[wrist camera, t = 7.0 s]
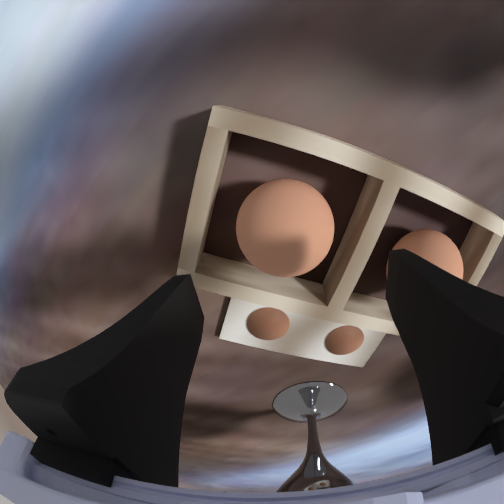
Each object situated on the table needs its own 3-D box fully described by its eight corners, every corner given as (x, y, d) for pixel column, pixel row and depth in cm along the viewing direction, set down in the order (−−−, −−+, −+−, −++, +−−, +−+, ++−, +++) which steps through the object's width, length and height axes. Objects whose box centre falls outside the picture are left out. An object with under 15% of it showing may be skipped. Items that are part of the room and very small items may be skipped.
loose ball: (323, 166, 17) (344, 191, 12) (326, 246, 19) (342, 292, 14) (234, 173, 17) (222, 201, 13) (245, 252, 19) (239, 300, 15)
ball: (452, 230, 18) (491, 266, 13) (420, 290, 20) (448, 335, 15) (395, 206, 17) (431, 241, 13) (364, 274, 20) (385, 322, 15)
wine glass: (333, 426, 28) (344, 552, 15) (260, 420, 28) (252, 556, 15) (365, 382, 25) (395, 536, 11) (280, 373, 24) (278, 548, 11)
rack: (488, 210, 17) (508, 223, 14) (394, 368, 24) (401, 389, 21) (221, 105, 15) (212, 105, 13) (174, 322, 22) (166, 345, 20)
